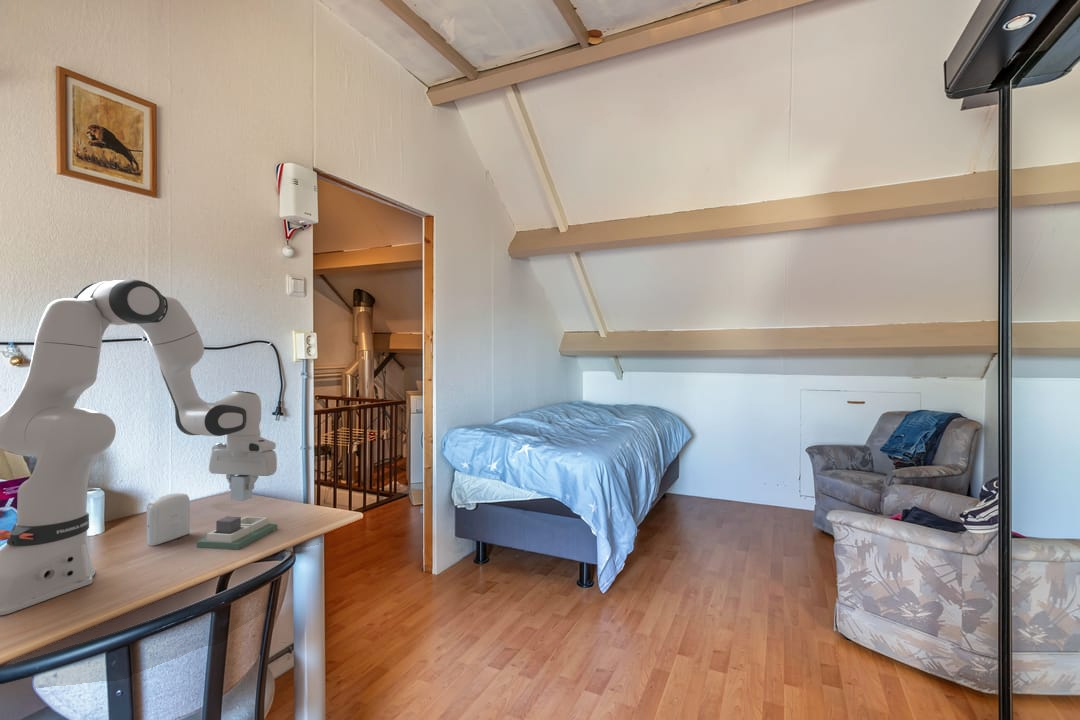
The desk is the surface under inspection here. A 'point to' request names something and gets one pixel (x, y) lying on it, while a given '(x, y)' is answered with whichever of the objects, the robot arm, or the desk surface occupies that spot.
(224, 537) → the header board
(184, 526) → the photo printer
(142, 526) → the desk surface
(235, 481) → the plug
